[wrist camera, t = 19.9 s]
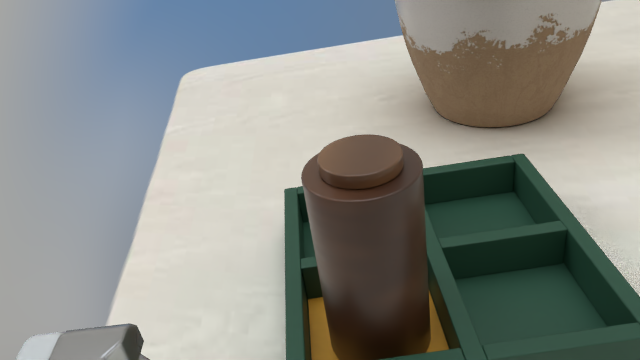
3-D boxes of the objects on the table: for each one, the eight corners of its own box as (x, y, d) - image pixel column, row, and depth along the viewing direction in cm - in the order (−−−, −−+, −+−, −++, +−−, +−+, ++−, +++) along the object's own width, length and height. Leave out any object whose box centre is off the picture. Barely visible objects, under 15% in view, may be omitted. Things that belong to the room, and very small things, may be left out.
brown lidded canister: (335, 383, 24) (300, 195, 19) (327, 307, 28) (297, 135, 23) (442, 367, 23) (435, 175, 19) (419, 293, 27) (408, 118, 23)
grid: (297, 433, 23) (285, 388, 21) (291, 225, 35) (284, 188, 34) (657, 382, 22) (670, 333, 21) (521, 191, 35) (523, 152, 34)
